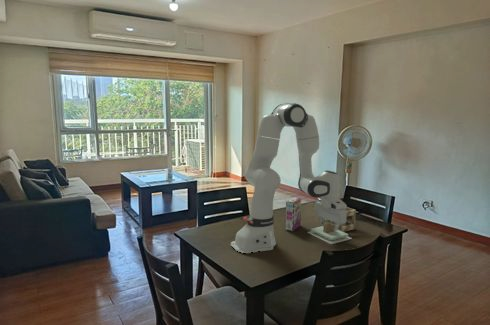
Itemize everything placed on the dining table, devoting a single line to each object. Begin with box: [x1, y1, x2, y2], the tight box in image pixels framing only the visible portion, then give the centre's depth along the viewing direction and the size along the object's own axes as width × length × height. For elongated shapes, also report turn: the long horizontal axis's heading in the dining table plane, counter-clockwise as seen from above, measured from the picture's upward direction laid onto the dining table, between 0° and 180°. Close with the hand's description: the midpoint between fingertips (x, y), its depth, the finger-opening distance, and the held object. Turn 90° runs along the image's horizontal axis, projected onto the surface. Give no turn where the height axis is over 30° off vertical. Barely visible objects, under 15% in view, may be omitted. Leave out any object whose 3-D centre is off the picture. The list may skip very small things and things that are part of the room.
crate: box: [324, 206, 357, 233], centre depth 188 cm, size 11×15×11 cm
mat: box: [307, 230, 352, 245], centre depth 175 cm, size 14×18×1 cm
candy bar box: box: [284, 196, 302, 232], centre depth 186 cm, size 11×5×16 cm, turn 149°
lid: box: [310, 224, 349, 240], centre depth 174 cm, size 12×16×6 cm
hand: (329, 227), depth 174 cm, fingers open, 8 cm apart
